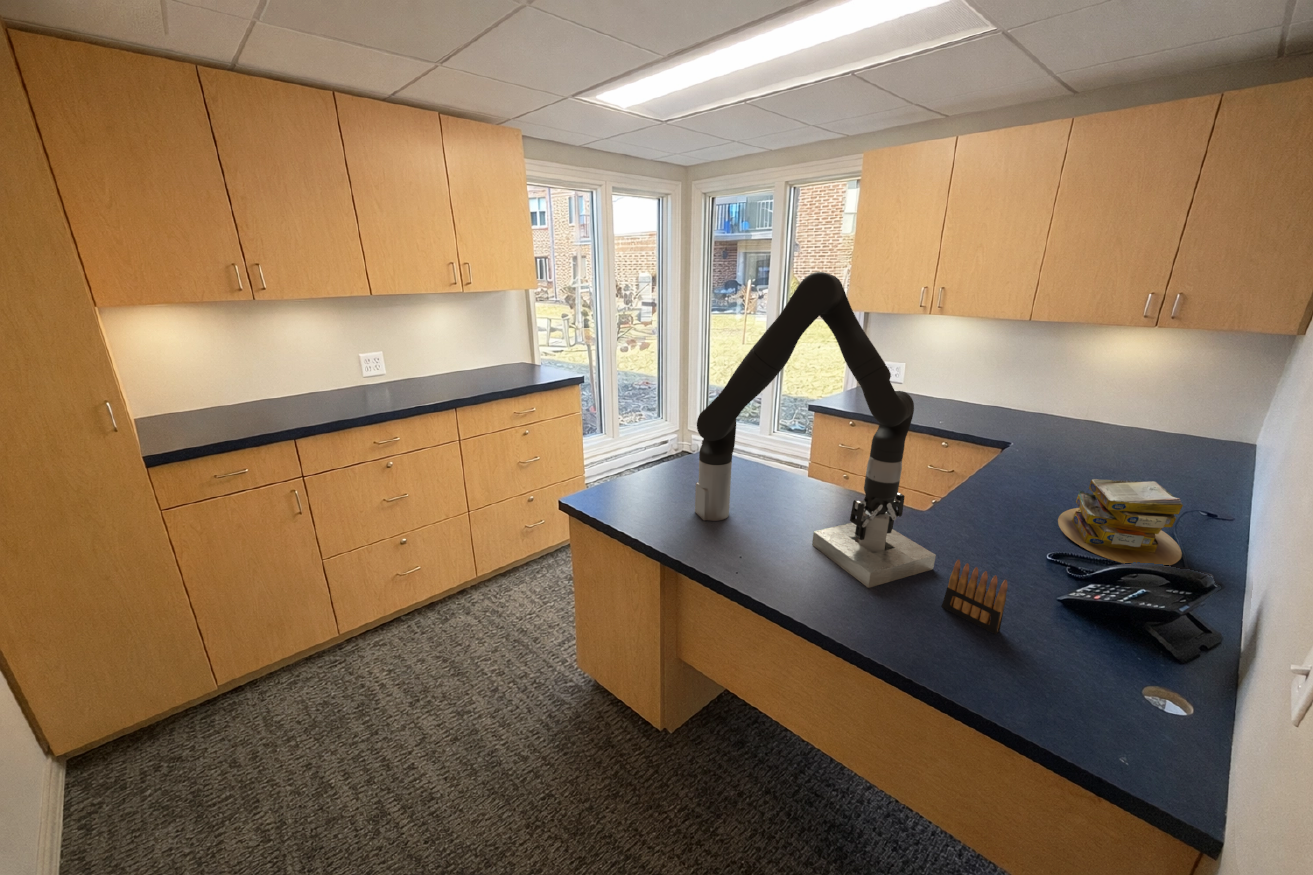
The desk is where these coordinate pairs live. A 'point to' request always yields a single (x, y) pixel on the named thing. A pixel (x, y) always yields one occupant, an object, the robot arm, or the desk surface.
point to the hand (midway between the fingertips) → (873, 535)
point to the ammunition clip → (975, 598)
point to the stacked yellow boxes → (1124, 522)
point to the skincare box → (875, 533)
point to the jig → (873, 555)
